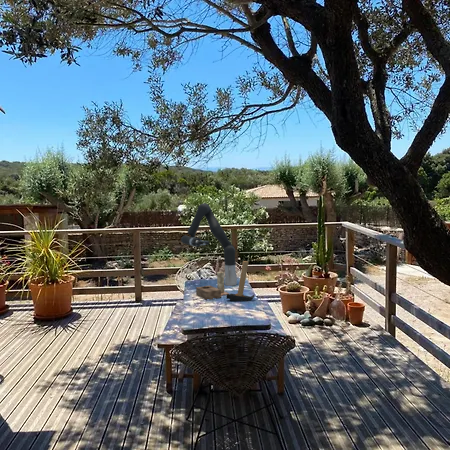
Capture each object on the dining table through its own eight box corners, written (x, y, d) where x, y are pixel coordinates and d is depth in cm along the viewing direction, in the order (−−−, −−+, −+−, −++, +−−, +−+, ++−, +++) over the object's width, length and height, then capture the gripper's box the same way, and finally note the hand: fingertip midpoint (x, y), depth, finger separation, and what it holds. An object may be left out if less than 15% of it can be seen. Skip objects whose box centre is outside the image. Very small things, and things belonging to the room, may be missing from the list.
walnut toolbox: (210, 293, 338) (210, 285, 338) (220, 297, 322) (220, 289, 322) (196, 295, 332) (196, 287, 332) (206, 300, 317) (206, 292, 316)
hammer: (252, 302, 316) (259, 263, 314) (253, 304, 311) (260, 264, 309) (226, 298, 315) (232, 258, 313) (226, 299, 310) (233, 259, 308)
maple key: (222, 291, 337) (221, 271, 336) (224, 292, 334) (224, 272, 333) (217, 292, 336) (217, 272, 334) (219, 293, 332) (219, 272, 331)
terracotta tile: (221, 291, 342) (221, 290, 342) (229, 294, 332) (229, 293, 331) (213, 292, 338) (213, 291, 338) (220, 296, 328) (220, 294, 328)
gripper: (187, 238, 353) (195, 240, 339) (203, 237, 360) (211, 238, 346) (187, 247, 354) (195, 249, 340) (203, 245, 361) (211, 247, 347)
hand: (203, 244), depth 343 cm, fingers open, 8 cm apart
